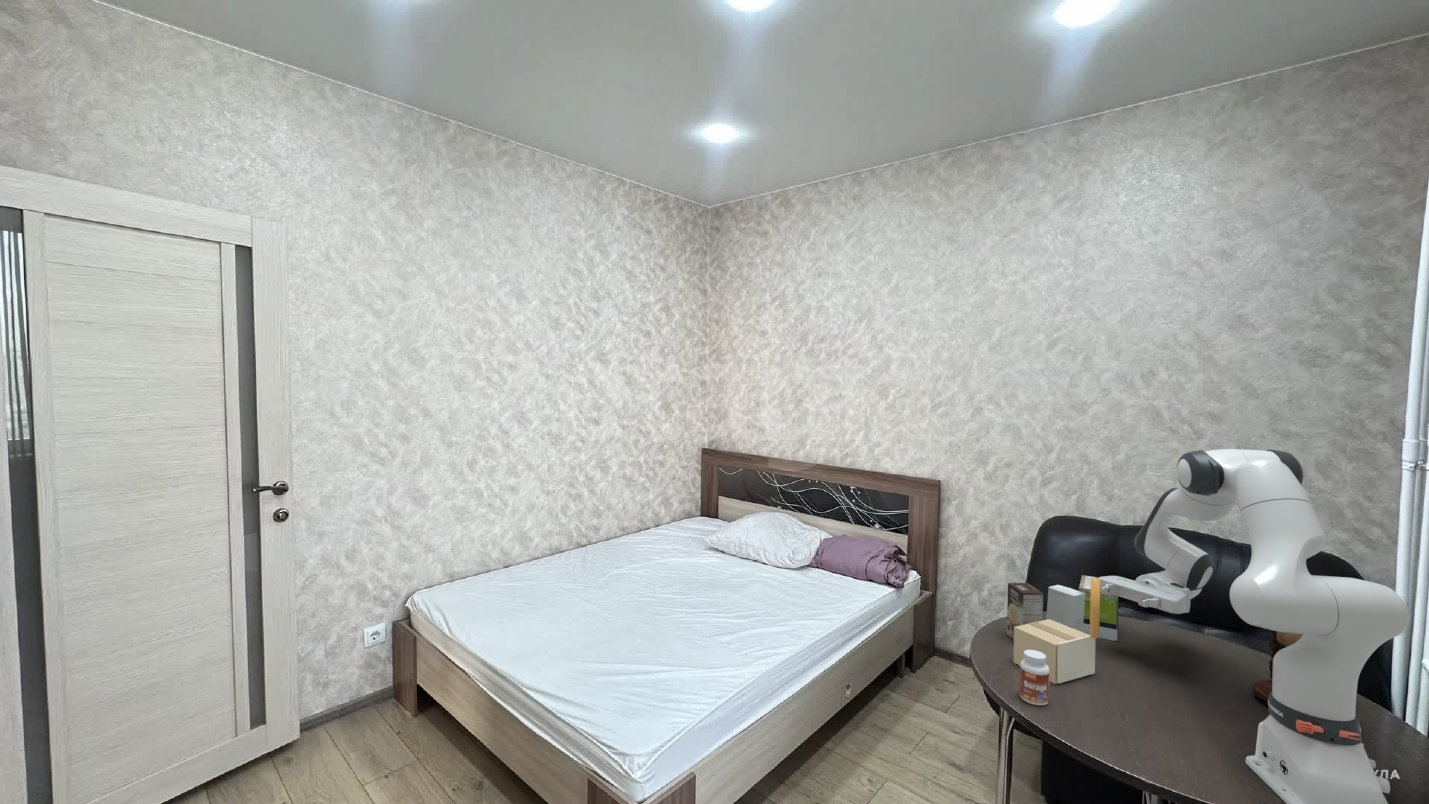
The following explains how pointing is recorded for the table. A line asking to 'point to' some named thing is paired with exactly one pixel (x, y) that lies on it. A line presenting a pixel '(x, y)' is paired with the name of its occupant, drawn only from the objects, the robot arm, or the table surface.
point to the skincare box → (1066, 606)
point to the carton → (1043, 641)
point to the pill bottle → (1034, 678)
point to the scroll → (1265, 686)
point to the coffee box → (1023, 606)
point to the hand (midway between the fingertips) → (1122, 597)
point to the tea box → (1107, 611)
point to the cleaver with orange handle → (1080, 645)
